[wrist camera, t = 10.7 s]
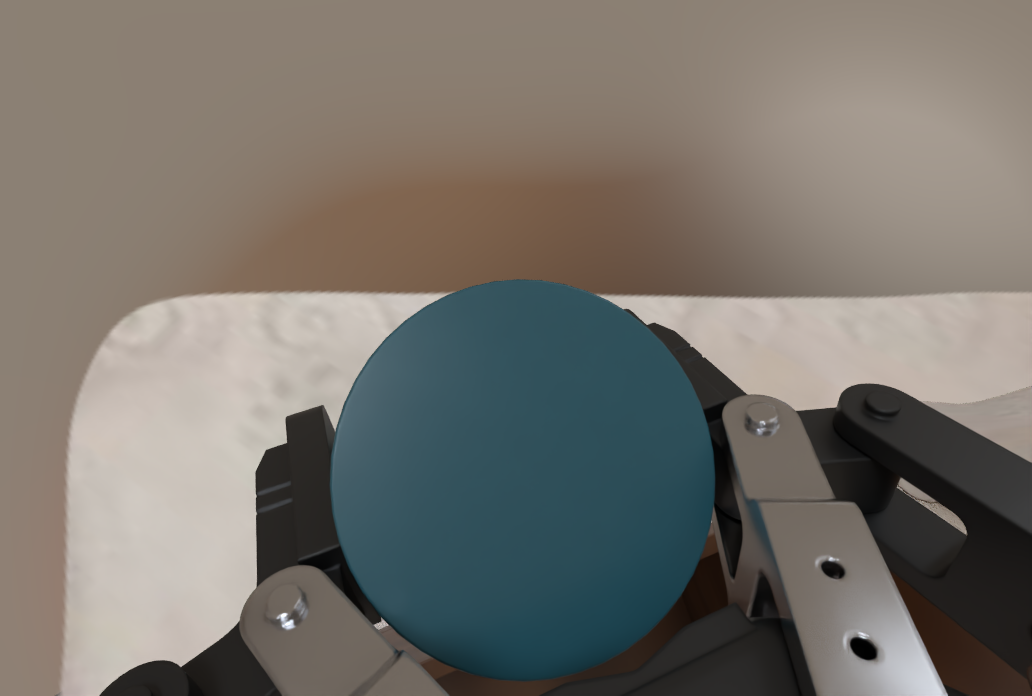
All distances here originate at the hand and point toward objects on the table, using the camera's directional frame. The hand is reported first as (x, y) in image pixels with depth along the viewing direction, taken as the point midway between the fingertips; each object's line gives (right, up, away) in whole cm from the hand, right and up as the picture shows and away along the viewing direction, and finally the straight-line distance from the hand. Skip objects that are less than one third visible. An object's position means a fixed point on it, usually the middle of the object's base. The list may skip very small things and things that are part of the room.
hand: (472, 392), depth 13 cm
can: (-1, -3, +8) cm, 9 cm away
